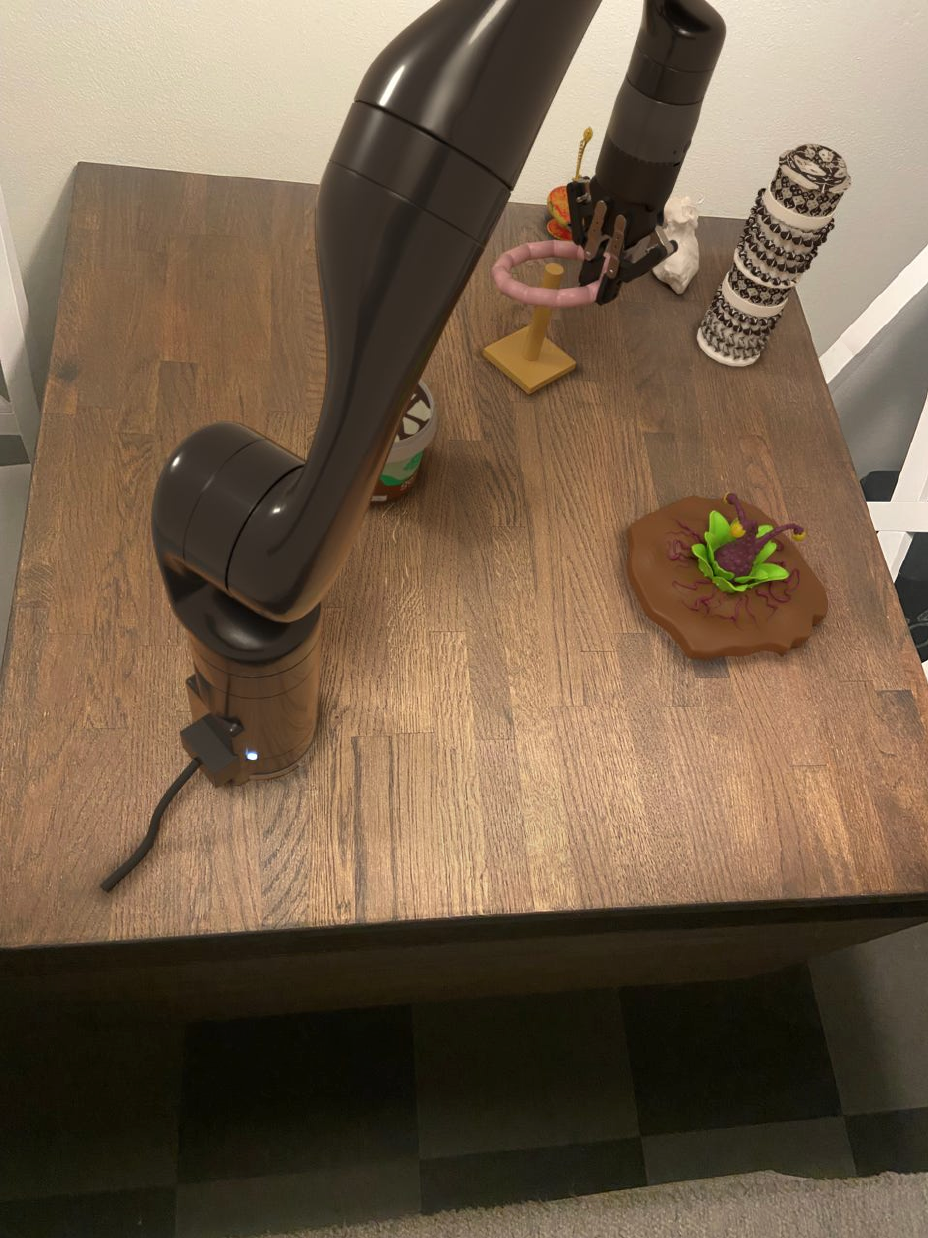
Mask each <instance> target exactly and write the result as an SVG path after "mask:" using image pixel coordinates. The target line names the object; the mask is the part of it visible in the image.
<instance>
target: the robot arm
mask: <svg viewBox="0 0 928 1238" xmlns="http://www.w3.org/2000/svg"><path fill="white" fill-rule="evenodd" d="M602 3H603V0H439V1H437V2H436V3H434V4H433V5H432V6H431V7H430V8H428V9H427V10H426V11H424V12H423V13H422V14H421V15H419V16H418V17H417V18H415V20H414V21H412V22H411V23H410V24H408V25H407V26H406V27H405V28H404V29H403V30H402V31H400V32H399V33H398V34H397V35H396V36H395V37H394V38H393V39H392V40H391V41H390V42H388V44H387V45H386V46H385V47H384V48H383V49H382V50H381V51H380V53H378V55H377V56H376V57H375V59H373V61H372V62H371V63H370V65H369V67H368V68H367V70H366V71H365V73H364V75H363V77H362V79H361V81H360V84H359V86H358V88H357V90H356V93H355V94H354V97H353V102H351V104H350V107H349V110H348V112H347V114H346V117H345V119H344V121H343V124H342V126H341V128H340V131H339V134H338V136H337V139H336V141H335V144H334V146H333V148H332V150H331V153H330V156H329V158H328V161H327V163H326V165H325V168H324V170H323V174H322V177H321V178H320V182H319V185H318V188H317V193H316V198H315V205H314V247H315V248H314V249H315V262H316V271H317V282H318V289H319V298H320V306H321V313H322V322H323V330H324V331H323V332H324V344H325V380H324V381H325V382H324V389H323V398H322V403H321V408H320V414H319V418H318V422H317V425H316V429H315V432H314V434H313V439H312V442H311V445H310V448H309V451H308V454H307V457H306V459H304V458H303V457H301V456H300V455H298V454H297V453H294V451H292V450H290V449H288V448H286V447H284V446H283V445H281V444H280V443H277V442H276V441H274V440H273V439H271V438H270V437H268V436H266V435H264V434H263V433H260V432H259V431H257V430H256V429H254V428H252V427H251V426H249V425H247V424H244V423H241V422H238V421H233V420H219V421H214V422H210V423H207V424H205V425H202V426H200V427H199V428H197V429H195V430H194V431H192V432H191V433H189V434H188V435H187V436H186V437H185V438H183V440H182V441H180V443H178V445H177V446H176V447H175V448H174V449H173V451H172V452H171V453H170V455H169V456H168V458H167V460H166V462H165V463H164V465H163V467H162V469H161V472H160V474H159V476H158V480H157V482H156V485H155V488H154V491H153V497H152V501H151V508H150V532H151V533H150V534H151V540H152V546H153V551H154V554H155V558H156V563H157V565H158V570H159V572H160V573H159V574H160V576H161V579H162V583H163V586H164V587H163V588H164V590H165V593H166V597H167V600H168V603H169V607H170V609H171V611H172V614H173V615H174V617H175V619H176V620H177V621H178V622H179V624H180V625H181V626H182V627H183V628H184V629H185V630H186V632H187V634H188V639H189V640H188V641H189V646H190V653H191V658H192V664H193V670H194V673H193V674H192V675H190V676H188V677H187V678H186V679H185V687H186V692H187V698H188V704H189V708H190V713H191V718H192V723H191V724H188V726H186V727H185V728H183V729H182V730H180V731H179V736H180V741H181V746H182V749H183V750H184V751H185V752H186V753H187V755H188V756H189V757H190V759H191V760H190V762H189V763H188V764H187V766H186V767H185V768H184V770H182V771H181V773H180V774H179V775H178V777H176V778H175V780H174V781H173V782H172V783H171V785H170V786H169V787H168V789H167V790H166V792H164V794H163V795H162V796H161V799H160V800H159V801H158V802H157V805H156V806H155V809H154V810H153V813H152V815H151V818H150V820H149V821H150V822H149V824H148V825H149V826H148V829H147V831H146V834H145V837H144V839H143V841H142V842H141V844H140V845H139V846H138V847H137V849H136V850H135V851H134V852H133V854H131V856H129V858H127V860H125V862H124V863H122V865H120V866H119V867H118V868H117V869H116V870H115V871H113V873H111V874H110V875H109V876H108V877H107V878H105V880H104V881H103V882H102V883H101V884H100V885H99V887H100V889H102V890H103V891H104V892H105V893H108V892H109V891H110V890H111V889H112V888H113V887H114V886H115V885H116V884H117V883H118V882H119V881H120V880H121V879H123V878H124V877H125V876H126V875H127V874H128V873H129V872H131V871H132V870H133V869H134V868H135V867H136V866H137V865H138V864H139V863H140V861H141V860H142V859H143V858H144V857H145V856H146V854H147V853H148V852H149V850H150V849H151V848H152V846H153V844H154V842H155V840H156V838H157V836H158V831H159V828H160V824H161V821H162V818H163V816H164V814H165V812H166V811H167V809H168V807H169V806H170V804H171V803H172V801H173V800H174V799H175V797H176V796H177V794H179V792H180V791H181V790H182V789H183V787H184V786H185V784H186V783H187V782H188V781H189V780H190V779H191V777H193V775H194V774H195V772H196V771H197V770H198V769H199V770H200V771H201V773H203V775H204V777H205V778H207V780H208V781H209V782H210V784H211V785H212V786H213V787H214V788H215V789H216V790H217V789H219V788H220V787H221V786H222V785H225V784H226V783H227V782H229V781H230V780H231V781H232V782H233V784H234V785H236V786H241V785H243V784H244V783H245V782H247V781H250V780H253V781H263V780H271V779H276V778H278V777H279V778H280V777H282V776H284V775H286V774H288V773H290V772H292V771H293V770H295V769H296V768H298V767H299V763H301V761H302V760H303V759H305V758H306V756H307V755H308V754H309V752H310V751H311V749H312V747H313V745H314V743H315V741H316V738H317V734H318V725H319V723H318V722H319V721H318V703H319V702H318V701H319V686H320V685H319V683H320V670H321V669H320V667H321V652H322V651H321V649H322V634H323V617H324V616H323V614H324V603H323V599H324V597H325V596H326V595H327V593H328V592H329V590H330V589H331V588H332V586H333V585H334V583H335V581H336V580H337V578H338V576H339V574H340V573H341V571H342V569H343V567H344V565H345V564H346V562H347V559H348V557H349V555H350V554H351V551H352V549H353V547H354V544H355V542H356V540H357V537H358V535H359V532H360V530H361V527H362V526H363V523H364V521H365V518H366V515H367V513H368V510H369V507H370V506H371V505H370V503H371V500H372V497H373V495H374V492H375V490H376V487H377V485H378V482H379V480H380V477H381V474H382V472H383V469H384V467H385V464H386V462H387V459H388V456H389V454H390V451H391V449H392V446H393V444H394V441H395V438H396V436H397V433H398V431H399V428H400V426H401V423H402V421H403V418H404V415H405V413H406V410H407V408H408V406H409V403H410V401H411V399H412V396H413V394H414V392H415V390H416V387H417V385H418V383H419V381H420V379H421V380H422V376H423V375H424V372H425V370H426V368H427V366H428V363H429V361H430V359H431V357H432V355H433V353H434V352H435V349H436V347H437V345H438V343H439V341H440V339H441V336H442V335H443V333H444V331H445V328H446V327H447V325H448V323H449V320H450V319H451V317H452V315H453V313H454V311H455V309H456V307H457V305H458V304H459V301H460V299H461V297H462V295H463V293H464V291H465V290H466V288H467V285H468V283H469V282H470V280H471V278H472V275H473V274H474V272H475V271H476V268H477V266H478V264H479V262H480V260H481V258H482V256H483V255H484V252H485V251H486V248H487V246H488V244H489V242H490V240H491V238H492V235H493V233H494V232H495V229H496V227H497V225H498V223H499V222H500V219H501V217H502V216H503V212H504V211H505V209H506V207H507V204H508V202H509V200H510V198H511V197H512V192H514V191H515V189H516V185H517V183H518V181H519V178H520V177H521V174H522V172H523V169H524V167H525V164H526V163H527V160H528V158H529V155H530V154H531V151H532V149H533V147H534V144H535V143H536V140H537V138H538V136H539V133H540V131H541V128H542V126H543V124H544V122H545V120H546V118H547V115H548V113H549V111H550V109H551V107H552V105H553V102H554V100H555V98H556V96H557V94H558V92H559V89H560V87H561V85H562V83H563V80H564V79H565V76H566V74H567V72H568V70H569V68H570V66H571V64H572V62H573V60H574V57H575V55H576V54H577V51H578V50H579V48H580V46H581V43H582V41H583V40H584V37H585V35H586V33H587V31H588V29H589V27H590V25H591V23H592V22H593V19H594V18H595V15H596V14H597V11H598V9H600V6H601V4H602ZM726 37H727V25H726V22H725V19H724V18H723V16H722V15H721V14H720V13H719V11H717V10H716V9H715V7H714V6H712V4H710V3H709V2H708V1H707V0H643V4H642V11H641V19H640V23H639V29H638V32H637V36H636V40H635V43H634V46H633V49H632V52H631V56H630V60H629V63H628V66H627V69H626V72H625V75H624V78H623V81H622V83H621V86H619V89H618V92H617V94H616V97H615V100H614V103H613V107H612V110H611V113H610V116H609V121H608V123H607V127H606V131H605V133H604V138H603V140H602V145H601V147H600V151H599V155H598V158H597V161H596V165H595V168H594V173H595V174H594V175H593V176H592V177H590V176H588V175H585V176H582V178H579V179H577V180H575V179H574V180H575V181H572V180H571V181H570V182H568V183H567V184H566V185H565V186H566V191H567V199H568V207H569V214H570V222H571V230H572V238H573V241H572V242H574V243H575V245H580V246H581V247H582V249H583V250H584V252H583V254H584V261H582V265H581V268H580V271H579V274H578V276H577V277H578V278H577V279H578V284H579V286H578V287H583V286H587V285H589V284H591V283H593V282H595V281H597V280H598V279H600V278H601V277H602V274H603V273H602V269H603V266H604V263H605V260H606V257H605V256H604V253H606V252H608V253H609V254H610V259H609V263H608V267H607V272H606V273H604V274H603V277H602V280H601V283H600V286H599V289H598V292H597V296H596V300H595V301H594V303H595V304H597V305H598V306H599V307H602V306H604V305H607V304H609V303H611V302H613V301H615V300H616V299H617V298H618V296H619V293H620V291H621V288H622V286H623V283H624V284H630V283H631V282H633V281H634V280H636V279H637V278H640V277H642V276H644V275H646V274H647V273H649V272H650V271H652V269H653V268H654V267H656V266H657V265H658V264H660V263H661V262H663V261H664V260H665V259H667V258H668V257H670V256H671V255H672V254H674V253H675V252H677V250H678V243H677V242H676V241H675V240H670V241H669V240H668V238H667V236H666V234H665V232H664V229H663V225H664V224H665V222H664V208H665V205H666V203H667V201H668V200H669V199H670V198H671V195H672V193H673V192H674V191H673V190H674V189H675V185H676V183H677V180H678V178H679V174H680V172H681V169H682V167H683V164H684V161H685V158H686V156H687V154H688V151H689V149H690V147H691V145H692V143H693V142H692V141H693V137H694V135H695V132H696V129H697V126H698V123H699V120H700V116H701V113H702V112H701V111H702V106H703V102H704V100H705V97H706V94H707V91H708V88H709V86H710V83H711V81H712V78H713V76H714V72H715V70H716V67H717V64H718V61H719V58H720V56H721V53H722V51H723V48H724V45H725V42H726ZM583 218H584V226H583V222H582V220H583ZM647 237H650V239H649V241H648V243H647V245H646V248H645V249H644V252H645V255H643V256H642V257H641V258H639V259H638V260H636V261H635V262H634V260H635V259H634V258H635V255H636V253H637V252H638V251H639V249H640V247H641V244H642V241H643V240H644V239H646V238H647Z"/></svg>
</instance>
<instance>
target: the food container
mask: <svg viewBox="0 0 928 1238" xmlns="http://www.w3.org/2000/svg"><path fill="white" fill-rule="evenodd" d="M437 422H438V421H437V409H436V404H435V400H434V398H433V395H432V393H431V391H430V389H429V388H428V386H427V385H426V383H425V382H424V381H423V380H422V378H421V379H420V381H419V383H418V385H417V387H416V390H415V392H414V394H413V396H412V399H411V401H410V403H409V406H408V408H407V410H406V413H405V415H404V418H403V421H402V423H401V426H400V428H399V431H398V433H397V436H396V438H395V441H394V444H393V446H392V449H391V451H390V454H389V456H388V459H387V462H386V464H385V467H384V469H383V472H382V474H381V477H380V480H379V482H378V485H377V487H376V490H375V492H374V495H373V497H372V500H371V503H370V505H369V506H386V505H388V504H391V503H396V502H397V501H399V500H401V499H403V498H404V497H406V496H407V495H408V494H409V492H410V491H411V490H412V489H413V486H414V485H415V482H416V478H417V475H418V471H419V467H420V465H421V461H422V457H423V453H424V451H425V448H426V447H428V445H429V444H430V443H431V442H432V441H433V438H434V436H435V434H436V432H437V431H436V430H437V425H438V423H437Z"/></svg>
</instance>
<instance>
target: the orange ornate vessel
mask: <svg viewBox="0 0 928 1238" xmlns="http://www.w3.org/2000/svg"><path fill="white" fill-rule="evenodd" d="M582 134H583V135H582V136H583V139H581V140H580V141H579V146H578V147H579V148H578V155H577V162H576V168H575V169H576V170H575V176H574V177H572V178H571V182H572V181H575V180H577V179H579V178H582V177H583V176H582V174H580V169H581V165H582V160H583V156H584V153H585V150H586V147H587V145H588V143H589V142H590V141H591V140H592V138H593V137H594V130H593V129H592V127H591V126H588V127H587V128H586V129H584V131H583V133H582ZM566 186H567V185H560V186H557V187H555V188H553V189H552V190H551V191H550V192H549V193H548V195H547V198H546V206H547V209H548V211H549V213H550V214H551V216H552V219H550V220H549V221H548V223H547V224H546V229H547V231H548V233H549V234H550V235H551V236H553V237H554V238H555V239H557V240H560V241H571V242H573V238H572V230H571V222H570V214H569V207H568V199H567V191H566ZM582 222H583V227H585V226H584V218H583V220H582Z"/></svg>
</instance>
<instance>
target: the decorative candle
mask: <svg viewBox="0 0 928 1238" xmlns="http://www.w3.org/2000/svg"><path fill="white" fill-rule="evenodd" d="M778 165H779V166H778V167H777V169H776V171H775V175H774V177H773V179H772V180H771V181H770V182H768V184H767V186H766V187H762V188H759V189H758V191H757V194H756V195H757V196H756V198H755V200H754V203H755V205H754V206H752V207H751V208H750V214H749V216H748V218H747V219H746V221H745V225H744V226H743V229H742V230H743V234H741V235H739V237H738V239H739V242H738V243H737V245H736V248H735V249H734V254H733V260H734V261H733V263H732V267H731V269H730V270H729V271H728V272H726V275H725V277H724V279H723V281H722V282H720V283H719V284H718V286H717V287H718V288H717V289H716V291H715V294H714V295H713V299H712V300H711V303H710V305H708V307H707V309H706V312H705V315H704V317H703V318H702V321H701V323H700V327H699V328H697V329H698V330H697V335H696V340H697V343H698V346H699V347H700V349H701V350H702V351H703V352H704V353H705V354H706V355H707V356H708V357H710V358H711V359H713V360H714V361H716V362H718V363H720V364H724V365H726V366H729V367H746V366H748V365H749V366H750V365H753V364H754V363H755V362H756V361H757V360H758V359H759V358H760V356H761V351H764V350H765V347H764V346H765V344H766V343H767V342H768V341H770V339H771V338H770V336H769V335H771V334H772V332H773V331H772V330H774V329H776V327H777V323H778V320H780V319H781V318H782V317H783V312H784V307H785V306H786V304H787V302H788V300H789V295H790V293H791V291H792V290H793V288H794V287H796V286H797V285H798V284H799V283H800V282H801V281H802V279H803V277H804V276H803V275H804V273H806V271H808V270H810V269H811V264H812V261H813V260H814V259H815V258H816V257H817V256H818V255H819V252H818V250H819V247H821V246H822V245H823V244H826V243H827V240H828V234H829V233H830V232H831V231H832V230H834V229H835V227H836V225H835V217H834V216H835V214H836V212H837V207H838V204H839V203H840V201H841V200H842V197H843V196H844V194H845V192H846V191H847V190H848V189H849V188H850V187H851V186H852V176H851V175H850V174H849V172H848V167H847V163H846V161H845V160H844V158H843V156H842V155H840V154H839V153H838V152H837V151H835V150H834V149H831V148H829V147H828V146H825V145H822V144H818V143H804V144H800V145H798V146H796V147H795V148H793V149H788V150H785V151H784V152H782V153H781V154H780V155H779V158H778Z"/></svg>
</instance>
